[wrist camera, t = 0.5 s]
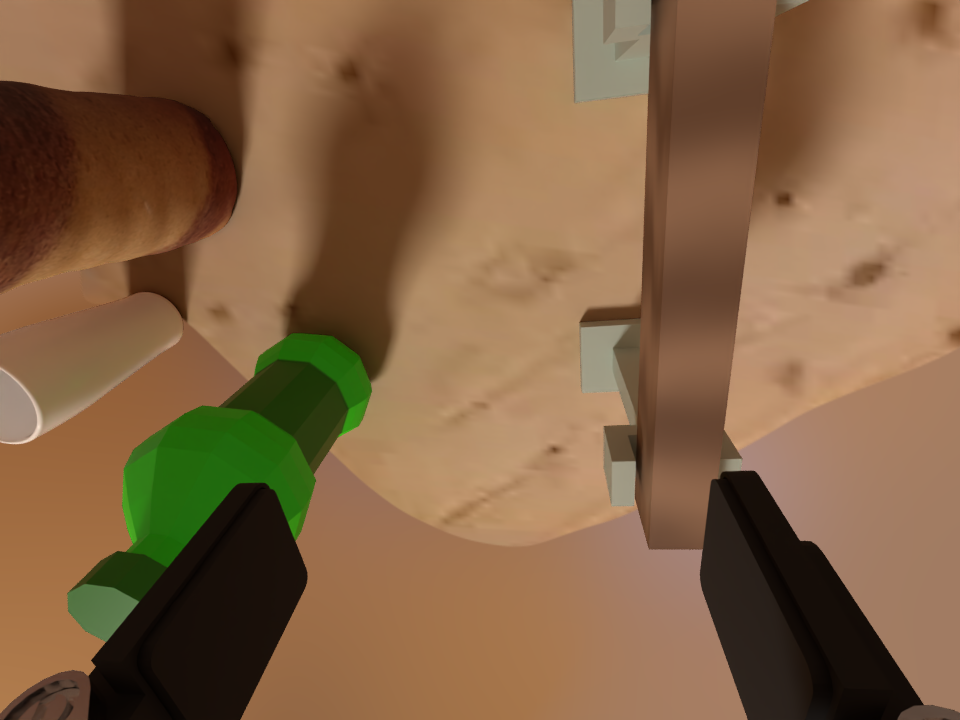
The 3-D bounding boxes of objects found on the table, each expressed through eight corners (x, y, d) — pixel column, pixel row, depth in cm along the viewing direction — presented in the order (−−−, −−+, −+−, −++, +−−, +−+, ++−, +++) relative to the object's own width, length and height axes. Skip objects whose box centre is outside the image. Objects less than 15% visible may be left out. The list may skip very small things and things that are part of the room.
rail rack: (571, -5, 30) (606, -139, 15) (688, -23, 29) (848, -186, 14) (580, 386, 42) (605, 526, 27) (664, 382, 41) (738, 526, 26)
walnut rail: (655, -116, 17) (687, -182, 13) (745, -133, 17) (802, -205, 13) (634, 497, 29) (648, 549, 25) (686, 496, 28) (709, 549, 25)
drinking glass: (180, 280, 41) (10, 351, 28) (204, 351, 44) (59, 447, 31) (110, 282, 42) (-88, 352, 29) (138, 352, 45) (-31, 445, 32)
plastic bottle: (359, 303, 41) (140, 514, 18) (399, 407, 45) (262, 684, 22) (257, 327, 43) (-52, 543, 20) (305, 425, 47) (92, 695, 24)
